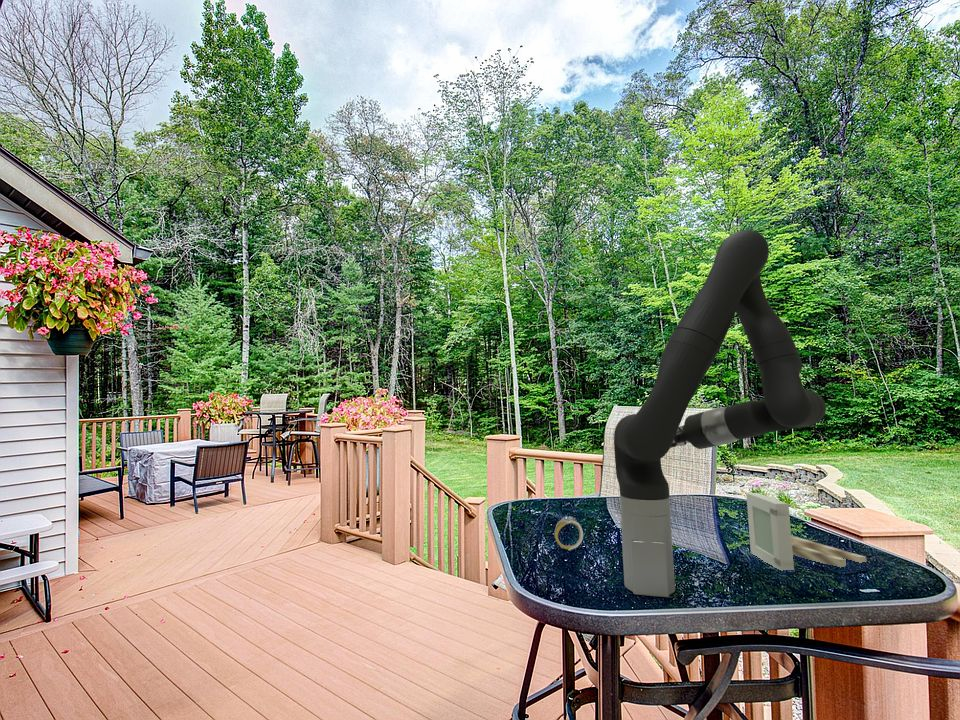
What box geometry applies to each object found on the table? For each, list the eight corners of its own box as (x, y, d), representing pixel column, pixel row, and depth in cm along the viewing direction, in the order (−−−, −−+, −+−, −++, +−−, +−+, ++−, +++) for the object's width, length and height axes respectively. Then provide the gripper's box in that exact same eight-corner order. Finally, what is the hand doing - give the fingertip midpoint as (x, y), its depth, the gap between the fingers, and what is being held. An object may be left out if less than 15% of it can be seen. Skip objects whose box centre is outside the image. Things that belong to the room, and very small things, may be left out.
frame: (794, 573, 95) (788, 503, 97) (781, 573, 95) (775, 503, 97) (762, 554, 108) (757, 492, 109) (750, 554, 108) (746, 492, 110)
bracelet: (582, 547, 115) (580, 514, 116) (584, 551, 112) (583, 517, 113) (554, 548, 115) (553, 515, 116) (556, 552, 112) (555, 518, 113)
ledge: (867, 571, 95) (865, 556, 95) (841, 575, 93) (839, 560, 94) (782, 545, 114) (781, 532, 115) (759, 547, 113) (758, 534, 113)
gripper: (722, 404, 103) (660, 422, 115) (689, 417, 94) (627, 434, 107) (735, 437, 101) (672, 451, 114) (704, 453, 93) (639, 466, 105)
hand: (650, 443), depth 110 cm, fingers open, 8 cm apart
